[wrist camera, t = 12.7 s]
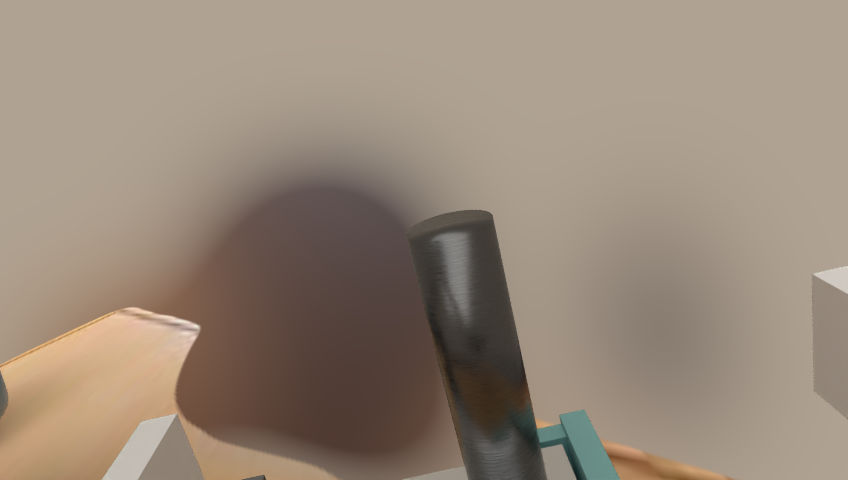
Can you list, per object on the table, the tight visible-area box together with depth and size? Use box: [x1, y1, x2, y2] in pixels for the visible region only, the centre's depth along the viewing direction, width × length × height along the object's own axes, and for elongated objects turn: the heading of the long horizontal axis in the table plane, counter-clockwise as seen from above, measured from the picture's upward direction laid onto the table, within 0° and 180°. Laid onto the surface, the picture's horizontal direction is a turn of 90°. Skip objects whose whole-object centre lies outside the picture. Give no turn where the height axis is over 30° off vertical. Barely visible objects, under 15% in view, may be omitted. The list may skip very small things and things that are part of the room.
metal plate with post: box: [403, 210, 577, 480], centre depth 24 cm, size 16×5×17 cm, turn 92°
